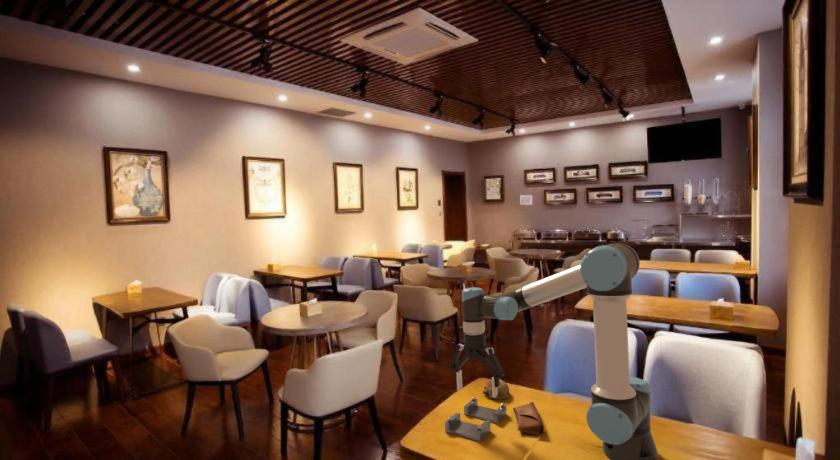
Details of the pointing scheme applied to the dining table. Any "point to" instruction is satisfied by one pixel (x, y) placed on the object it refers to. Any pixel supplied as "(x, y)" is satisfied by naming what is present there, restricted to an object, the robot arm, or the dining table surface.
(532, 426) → the sunglasses case
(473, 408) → the bent steel plates
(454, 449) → the dining table surface
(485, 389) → the bread roll
